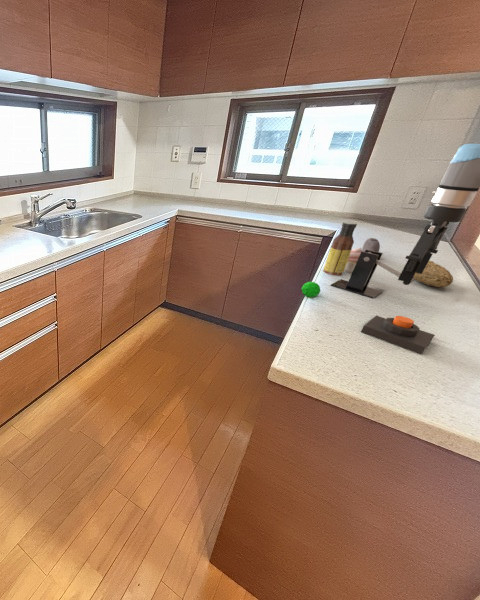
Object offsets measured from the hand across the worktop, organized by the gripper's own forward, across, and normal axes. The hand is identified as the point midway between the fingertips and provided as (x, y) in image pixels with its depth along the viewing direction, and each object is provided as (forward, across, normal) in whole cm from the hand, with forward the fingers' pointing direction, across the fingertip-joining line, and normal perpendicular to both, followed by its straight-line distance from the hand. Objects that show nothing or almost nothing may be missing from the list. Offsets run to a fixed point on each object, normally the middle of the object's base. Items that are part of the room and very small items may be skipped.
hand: (410, 276), depth 99 cm
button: (+5, +27, +6) cm, 28 cm away
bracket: (+9, 0, -11) cm, 14 cm away
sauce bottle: (+10, -11, -22) cm, 26 cm away
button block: (+9, +27, +6) cm, 29 cm away
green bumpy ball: (+10, +19, -18) cm, 28 cm away
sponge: (+9, -34, 0) cm, 36 cm away
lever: (0, 0, -6) cm, 6 cm away
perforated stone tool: (+9, -53, -22) cm, 58 cm away
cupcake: (+10, -20, -19) cm, 29 cm away
